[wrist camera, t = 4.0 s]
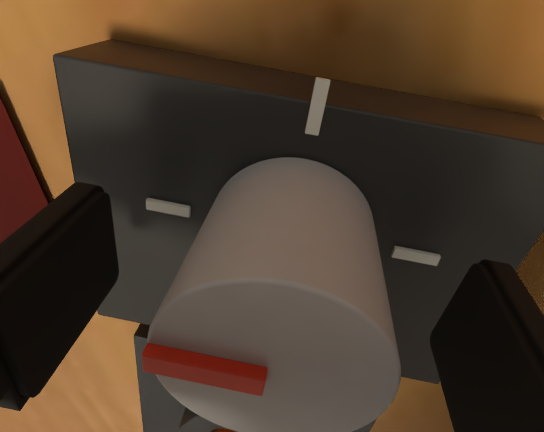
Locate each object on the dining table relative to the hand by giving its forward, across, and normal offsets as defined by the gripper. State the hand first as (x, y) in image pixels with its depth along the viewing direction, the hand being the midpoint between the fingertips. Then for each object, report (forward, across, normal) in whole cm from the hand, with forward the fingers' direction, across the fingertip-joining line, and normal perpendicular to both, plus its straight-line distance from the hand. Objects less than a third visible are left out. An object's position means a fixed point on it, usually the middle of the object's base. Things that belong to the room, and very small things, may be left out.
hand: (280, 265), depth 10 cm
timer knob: (+2, 0, 0) cm, 2 cm away
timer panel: (+5, 0, +1) cm, 5 cm away
